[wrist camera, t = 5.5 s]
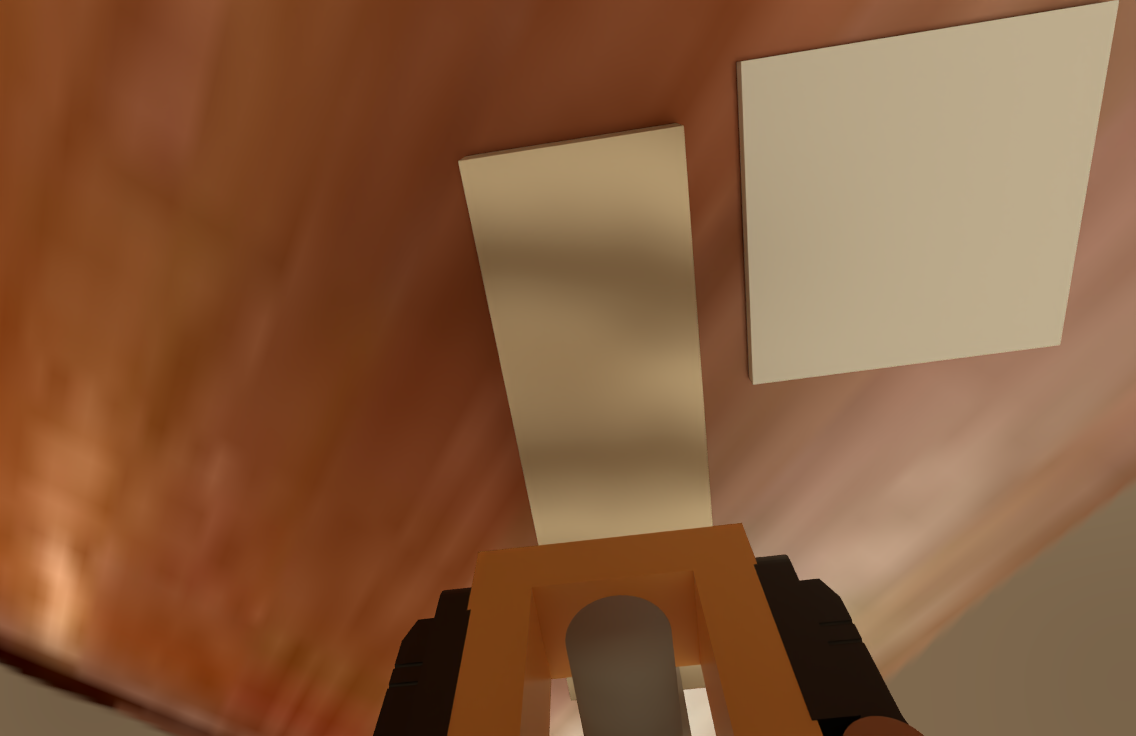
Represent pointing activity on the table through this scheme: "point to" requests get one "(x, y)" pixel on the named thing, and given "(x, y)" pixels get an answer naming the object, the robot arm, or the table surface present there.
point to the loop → (635, 568)
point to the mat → (917, 192)
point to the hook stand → (601, 381)
